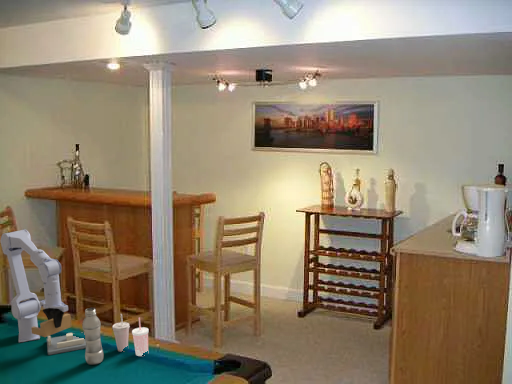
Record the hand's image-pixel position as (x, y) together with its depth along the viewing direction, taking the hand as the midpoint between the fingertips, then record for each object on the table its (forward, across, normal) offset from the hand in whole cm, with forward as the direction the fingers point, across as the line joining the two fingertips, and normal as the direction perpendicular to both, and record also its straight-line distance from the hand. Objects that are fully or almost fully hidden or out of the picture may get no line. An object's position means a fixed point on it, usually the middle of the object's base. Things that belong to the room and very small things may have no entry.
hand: (55, 326), depth 218 cm
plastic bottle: (+10, +22, -1) cm, 24 cm away
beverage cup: (+10, +31, +14) cm, 36 cm away
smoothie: (+10, +22, +12) cm, 27 cm away
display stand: (+9, 0, +6) cm, 11 cm away
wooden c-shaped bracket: (+2, -3, 0) cm, 4 cm away
